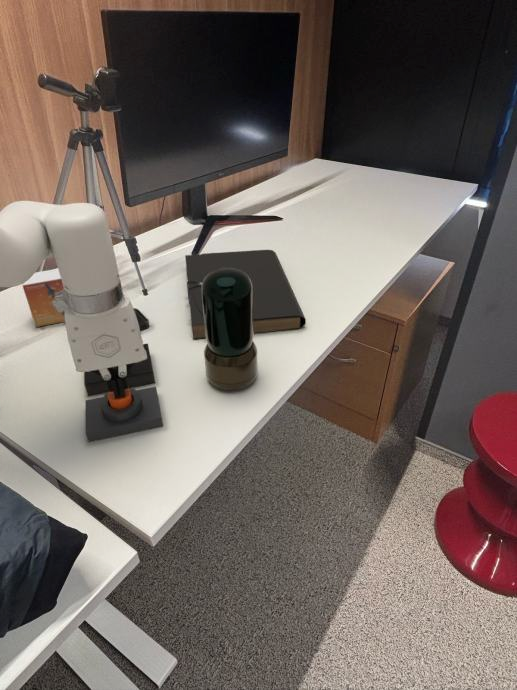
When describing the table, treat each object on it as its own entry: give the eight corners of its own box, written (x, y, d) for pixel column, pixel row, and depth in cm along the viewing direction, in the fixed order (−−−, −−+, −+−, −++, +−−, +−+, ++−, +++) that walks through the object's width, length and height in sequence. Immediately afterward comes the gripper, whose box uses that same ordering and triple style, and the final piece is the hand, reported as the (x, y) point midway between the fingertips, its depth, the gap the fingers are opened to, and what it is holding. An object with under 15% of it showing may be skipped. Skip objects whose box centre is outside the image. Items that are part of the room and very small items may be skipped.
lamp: (200, 391, 87) (188, 283, 74) (213, 359, 94) (204, 256, 82) (252, 396, 86) (249, 288, 73) (261, 364, 93) (260, 260, 80)
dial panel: (88, 396, 86) (84, 383, 84) (87, 366, 93) (83, 353, 91) (155, 383, 89) (152, 370, 87) (150, 355, 96) (147, 342, 94)
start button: (110, 411, 78) (107, 402, 77) (109, 397, 81) (107, 388, 79) (133, 407, 79) (131, 397, 77) (131, 393, 81) (129, 383, 80)
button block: (88, 442, 77) (82, 424, 75) (88, 409, 83) (82, 392, 81) (163, 426, 80) (160, 408, 78) (157, 395, 86) (154, 378, 84)
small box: (35, 328, 104) (21, 285, 98) (35, 315, 108) (20, 273, 102) (74, 320, 107) (62, 278, 100) (72, 308, 111) (60, 266, 105)
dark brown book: (184, 254, 124) (276, 248, 127) (185, 268, 126) (275, 262, 129) (190, 323, 97) (306, 313, 101) (192, 340, 100) (305, 329, 103)
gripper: (36, 317, 63) (71, 418, 74) (151, 298, 66) (168, 397, 77) (40, 290, 69) (72, 387, 80) (146, 274, 72) (162, 369, 83)
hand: (119, 392), depth 78 cm, fingers closed
